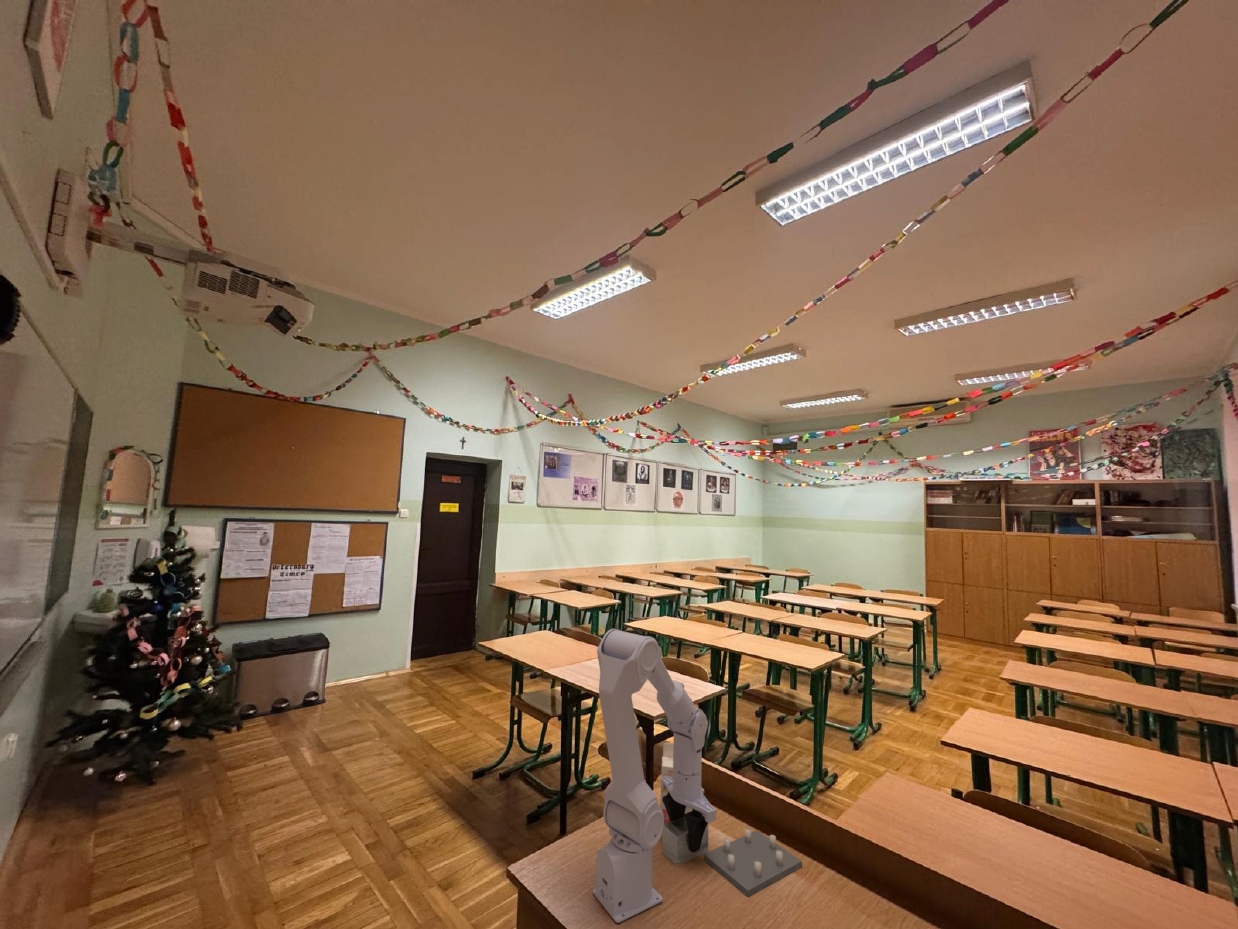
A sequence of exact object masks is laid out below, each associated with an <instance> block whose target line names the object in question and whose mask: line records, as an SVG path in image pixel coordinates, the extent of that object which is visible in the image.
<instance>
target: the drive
mask: <svg viewBox="0 0 1238 929" xmlns="http://www.w3.org/2000/svg"><path fill="white" fill-rule="evenodd" d="M661 840H662V842H661V843H662V846H661V847H662V848H661V849H662V850H661V852H662V854H663V855H664V856H665V857H666V858H668V859H669V861H671V862H672V863H673V864H674V865H675V866H676V867H678V866H681V865H683V864H685V863H687V862H690V861H692V860H694V859H696V858H699V857H701V856H704V854H705V853H707V852H709V824H708V825H707V827H706V829H705V831H704V834H703V838H702V842H701V846H700V850H698V851H696V852H694V853H692V852H690V849H689V837H688V828H687V824H686V820H685V817H682V818H679V819H676V820H674V821H671V822H668V823H666V824H665V823H664V828H663V832H662V839H661Z"/></svg>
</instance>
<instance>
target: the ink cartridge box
mask: <svg viewBox="0 0 1238 929" xmlns="http://www.w3.org/2000/svg"><path fill="white" fill-rule="evenodd" d="M660 775H661V776H660V778H661V777H665V776H669V777H671V778H673V743H672V742H663V744H662V756H661V773H660ZM667 793H668V790H667V789H662V788H661V787H660V800H659V801H660V804H659V807H660V808H661V809H662V811H663V815H664V824H666V823H668V822H670V820H669V816H668V813H667V810H666V807H665V805H664V803H663V801H662V798H663V796H666V795H667ZM691 811H692V808H690V807H688V806H686V809H685V813H688V812H691Z"/></svg>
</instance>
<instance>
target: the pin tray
mask: <svg viewBox="0 0 1238 929" xmlns="http://www.w3.org/2000/svg"><path fill="white" fill-rule="evenodd" d="M703 860H704V861H705V862H706V863H707V864H708V865H709V866H711V867H712V868H713V869H714V870H715V871H716V872H718V873H719V874H720V875H721V876H722V877H724V878H725V879H726V880H727V881H729V882H730V883H731V884H732V885H733V886H734V887H735V888H737V889H738V890H739V891H740V892H741V893H742V894H743V895H745V896H746V897H747V898H749V897H750V896H753V895H754V894H756V893H758V892H760V891H761V890H763V889H765V888H767V887H769V886H770V885H772V884H774V883H775V882H778V881H779V880H781V879H782V878H785V877H787V876H788V875H790V874H792V873H795V871H797V870H799V869H801V868H802V867H803V861H802V860H801V859H800V858H798V857H797V856H795V855H794V854H792V853H790V852H789V851H788V850H786V849H785V848H783V847H782V846H780V845H779V844H778V843H777V837H776V835H774V834H770V835H769V837H768V836H766V835H765V834H763V833H761V832H760V831H758V830H754V831H751V829H750V828H744V835H743V836H741V837H739V838H737V839H734V840H732V841H731V840H730V838H727V837H725V838H723V845H721V846H718V847H717V848H714V849H712V850H709V851H708V852H707V853H705V854H703Z"/></svg>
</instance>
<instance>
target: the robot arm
mask: <svg viewBox="0 0 1238 929" xmlns="http://www.w3.org/2000/svg"><path fill="white" fill-rule="evenodd" d="M596 652H597V660H598V665H599V671H600V672H599V682H598V695H599V696H598V697H599V702H600V709H601V714H602V721H603V727H604V735H605V739H606V748H607V754H608V758H609V766H610V773H611V778H612V781H611V782H609V784H608V785H607V786H606V788H605V790H604V791H603V796H604V807H603V811H602V812H603V813H602V814H603V815H602V817H603V821H604V823H605V825H606V826H607V827H608V828H609V829H608V835H609V837H611V838H610V839H609V841H608V842H607V843H606V844H605V845H604V846H602V847H600V848H599V849H598V851H597V853H596V861H595V862H596V865H595V866H596V867H595V887H594V888H593V889H592V894H594V896H595V898H596V899H597V900H598V901H599V903H600V904H601V905H602V906H603V908H604V909H605V910H606V912H607V913H608V914H609V915H610V917H611V918H612V920H614V922H615V923H617V924H618V923H621V922H624V921H625V920H628V919H629V918H631V917H633V916H635V915H638V914H640V913H642V912H643V911H646V910H648V909H650V908H652V907H654V906H656V905H658V904H660V903H662V902H663V896H662V895H661V894H660V893H659V892H658V891H657V890H656V889H655V888H654V887H653V866H654V865H653V860H654V858H653V857H654V855H653V854H654V853H653V852H654V847H655V846H656V845H657V844H658V842H659V841H660V839H661V837H662V836H663V828H664V824H665V823H664V815H663V811H662V809H661V808H660V804H659V803H658V797H657V795H656V794H655V792H654V791H653V790H652V788H651V786H649V784H648V783H647V782H646V780H645V776H644V769H643V763H642V756H641V749H640V744H639V743H640V742H639V737H638V729H637V724H636V717H635V711H634V710H635V709H634V704H633V698H632V696H633V694H635V693H638V692H640V691H641V689H642V688H643V687H644V685H645V683H646V682H647V681H649V682H650V684H651V686H652V687H653V688H654V689H655V690H656V692H657V693H656V701H657V703H658V704H659V706H660V708H661V709H662V711H663V712H664V713H665V716H666V718H667V719H666V720H667V722H666V724H667V728H668V730H670V731H671V732H673V778H671V777H669V776H665V777H661V776H660V789H661V788H662V789H667V790H668V793H667V795H666V796H663V798H662V801H663V803H664V805H665V807H666V810H667V813H668V816H669V820H670V822H671V821H674V820H676V819H679V818H682V817H685V820H686V824H687V828H688V837H689V849H690V852H692V853H694V852H696V851H698V850H700V846H701V842H702V838H703V834H704V831H705V829H706V827H707V825H708V826H709V823H713V822H715V821H717V809H716V808H715V807H714V806H713V805H712V804H711V803H710V801H708V799H707V797H706V796H705V795H704V794H705V788H703V787H702V766H703V765H702V764H703V763H702V761H703V760H702V758H703V754H702V753H703V752H702V750H703V747H705V746H704V745H705V740H706V739H705V738H706V733H707V730H708V727H709V726H708V725H709V721H708V719H707V715H706V714H705V713H704V712H705V711H703V709H701V708H698V707H697V706H695V703H694V701H693V699H692V698H691V697H690V695H688V692H687V691H686V689H685V684H684V683H683V682H682V681H678V680H672V677H671V675H670V673H669V671H668V669H667V667H666V666H665V664H664V661H663V660H662V648H661V646H660V645H659V644H658V641H657V640H656V639H655V638H654V637H652V636H649V635H648V636H647V635H646V636H645V635H640V634H636V633H631V632H627V631H623V630H621V629H617V628H611V629H609V630H607V631H606V633H605V634H604V635H603V637H602V638H601V641H600V643H599V645H598V646H597V648H596ZM686 806H688V807H690V808H692V811H691V812H688V813H685V809H686Z"/></svg>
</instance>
